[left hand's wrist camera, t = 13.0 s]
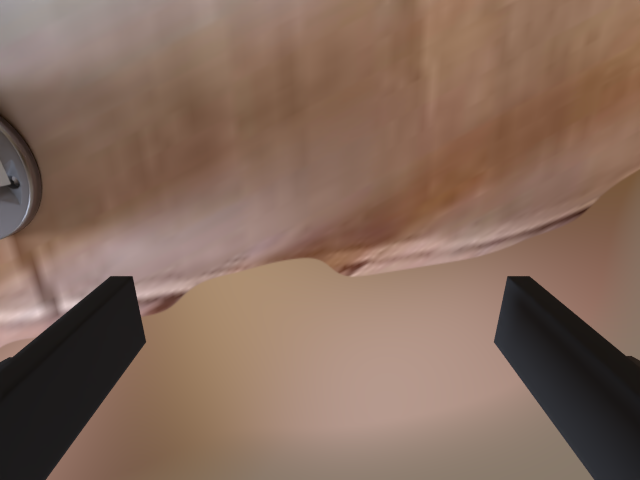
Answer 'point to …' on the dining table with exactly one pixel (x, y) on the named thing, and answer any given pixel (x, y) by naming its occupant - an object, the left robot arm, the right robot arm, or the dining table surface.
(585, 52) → the dining table surface
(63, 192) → the dining table surface
